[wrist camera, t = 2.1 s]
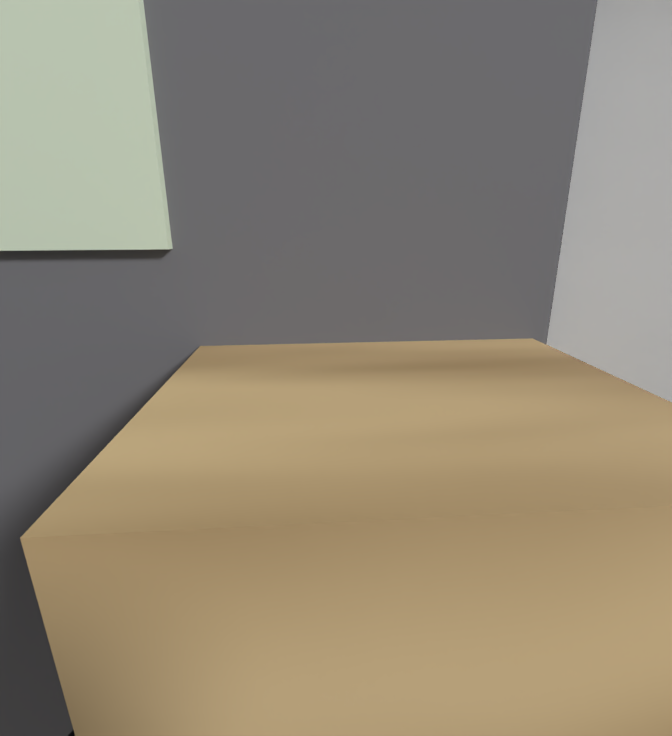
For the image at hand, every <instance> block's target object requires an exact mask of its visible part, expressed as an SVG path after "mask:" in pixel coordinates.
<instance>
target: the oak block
mask: <svg viewBox="0 0 672 736" xmlns="http://www.w3.org/2000/svg"><path fill="white" fill-rule="evenodd" d="M20 540H21V543H22V547H23V550H24V554H25V558H26V561H27V565H28V568H29V572H30V576H31V579H32V583H33V586H34V590H35V593H36V597H37V601H38V604H39V608H40V611H41V615H42V619H43V622H44V626H45V629H46V633H47V637H48V640H49V644H50V647H51V651H52V655H53V658H54V662H55V665H56V669H57V672H58V676H59V680H60V683H61V687H62V690H63V694H64V698H65V701H66V705H67V708H68V712H69V716H70V719H71V723H72V726H73V730H74V733H75V736H672V403H671V402H669V401H667V400H665V399H663V398H661V397H658V396H656V395H654V394H652V393H650V392H648V391H645V390H643V389H641V388H639V387H637V386H635V385H632V384H630V383H628V382H626V381H624V380H622V379H619V378H617V377H615V376H613V375H611V374H609V373H606V372H604V371H602V370H600V369H598V368H596V367H593V366H591V365H589V364H587V363H585V362H583V361H580V360H578V359H576V358H574V357H572V356H570V355H567V354H565V353H563V352H561V351H559V350H557V349H554V348H552V347H550V346H548V345H546V344H544V343H541V342H539V341H537V340H535V339H533V338H532V339H488V340H444V341H400V342H355V343H311V344H267V345H222V346H200V347H199V348H198V349H197V350H196V351H195V352H194V353H193V354H192V355H191V356H190V357H189V358H188V359H187V361H186V362H185V363H184V364H183V365H182V366H181V367H180V368H179V369H178V370H177V371H176V372H175V373H174V374H173V375H172V377H171V378H170V379H169V380H168V381H167V382H166V383H165V384H164V385H163V386H162V387H161V388H160V389H159V390H158V391H157V393H156V394H155V395H154V396H153V397H152V398H151V399H150V400H149V401H148V402H147V403H146V404H145V405H144V406H143V407H142V409H141V410H140V411H139V412H138V413H137V414H136V415H135V416H134V417H133V418H132V419H131V420H130V421H129V422H128V423H127V424H126V426H125V427H124V428H123V429H122V430H121V431H120V432H119V433H118V434H117V435H116V436H115V437H114V438H113V439H112V440H111V442H110V443H109V444H108V445H107V446H106V447H105V448H104V449H103V450H102V451H101V452H100V453H99V454H98V455H97V456H96V458H95V459H94V460H93V461H92V462H91V463H90V464H89V465H88V466H87V467H86V468H85V469H84V470H83V471H82V472H81V474H80V475H79V476H78V477H77V478H76V479H75V480H74V481H73V482H72V483H71V484H70V485H69V486H68V487H67V488H66V490H65V491H64V492H63V493H62V494H61V495H60V496H59V497H58V498H57V499H56V500H55V501H54V502H53V503H52V504H51V506H50V507H49V508H48V509H47V510H46V511H45V512H44V513H43V514H42V515H41V516H40V517H39V518H38V519H37V520H36V521H35V523H34V524H33V525H32V526H31V527H30V528H29V529H28V530H27V531H26V532H25V533H24V534H23V535H22V536H21V537H20Z"/></svg>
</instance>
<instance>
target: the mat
mask: <svg viewBox="0 0 672 736" xmlns="http://www.w3.org/2000/svg"><path fill="white" fill-rule="evenodd" d="M596 6H597V0H0V736H68V735H69V734H70V732H71V731H72V730H73V726H72V723H71V719H70V716H69V712H68V708H67V705H66V701H65V698H64V694H63V690H62V687H61V683H60V680H59V676H58V672H57V669H56V665H55V662H54V658H53V655H52V651H51V647H50V644H49V640H48V637H47V633H46V629H45V626H44V622H43V619H42V615H41V611H40V608H39V604H38V601H37V597H36V593H35V590H34V586H33V583H32V579H31V576H30V572H29V568H28V565H27V561H26V558H25V554H24V550H23V547H22V543H21V540H20V537H21V536H22V535H23V534H24V533H25V532H26V531H27V530H28V529H29V528H30V527H31V526H32V525H33V524H34V523H35V521H36V520H37V519H38V518H39V517H40V516H41V515H42V514H43V513H44V512H45V511H46V510H47V509H48V508H49V507H50V506H51V504H52V503H53V502H54V501H55V500H56V499H57V498H58V497H59V496H60V495H61V494H62V493H63V492H64V491H65V490H66V488H67V487H68V486H69V485H70V484H71V483H72V482H73V481H74V480H75V479H76V478H77V477H78V476H79V475H80V474H81V472H82V471H83V470H84V469H85V468H86V467H87V466H88V465H89V464H90V463H91V462H92V461H93V460H94V459H95V458H96V456H97V455H98V454H99V453H100V452H101V451H102V450H103V449H104V448H105V447H106V446H107V445H108V444H109V443H110V442H111V440H112V439H113V438H114V437H115V436H116V435H117V434H118V433H119V432H120V431H121V430H122V429H123V428H124V427H125V426H126V424H127V423H128V422H129V421H130V420H131V419H132V418H133V417H134V416H135V415H136V414H137V413H138V412H139V411H140V410H141V409H142V407H143V406H144V405H145V404H146V403H147V402H148V401H149V400H150V399H151V398H152V397H153V396H154V395H155V394H156V393H157V391H158V390H159V389H160V388H161V387H162V386H163V385H164V384H165V383H166V382H167V381H168V380H169V379H170V378H171V377H172V375H173V374H174V373H175V372H176V371H177V370H178V369H179V368H180V367H181V366H182V365H183V364H184V363H185V362H186V361H187V359H188V358H189V357H190V356H191V355H192V354H193V353H194V352H195V351H196V350H197V349H198V348H199V347H200V346H222V345H267V344H311V343H355V342H400V341H444V340H488V339H532V338H533V339H535V340H537V341H539V342H541V343H544V344H546V342H547V336H548V329H549V322H550V315H551V309H552V302H553V295H554V288H555V282H556V275H557V268H558V262H559V255H560V248H561V241H562V235H563V228H564V221H565V215H566V208H567V201H568V194H569V188H570V181H571V174H572V167H573V161H574V154H575V147H576V141H577V134H578V127H579V120H580V114H581V107H582V100H583V93H584V87H585V80H586V73H587V67H588V60H589V53H590V46H591V40H592V33H593V26H594V20H595V13H596Z"/></svg>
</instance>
